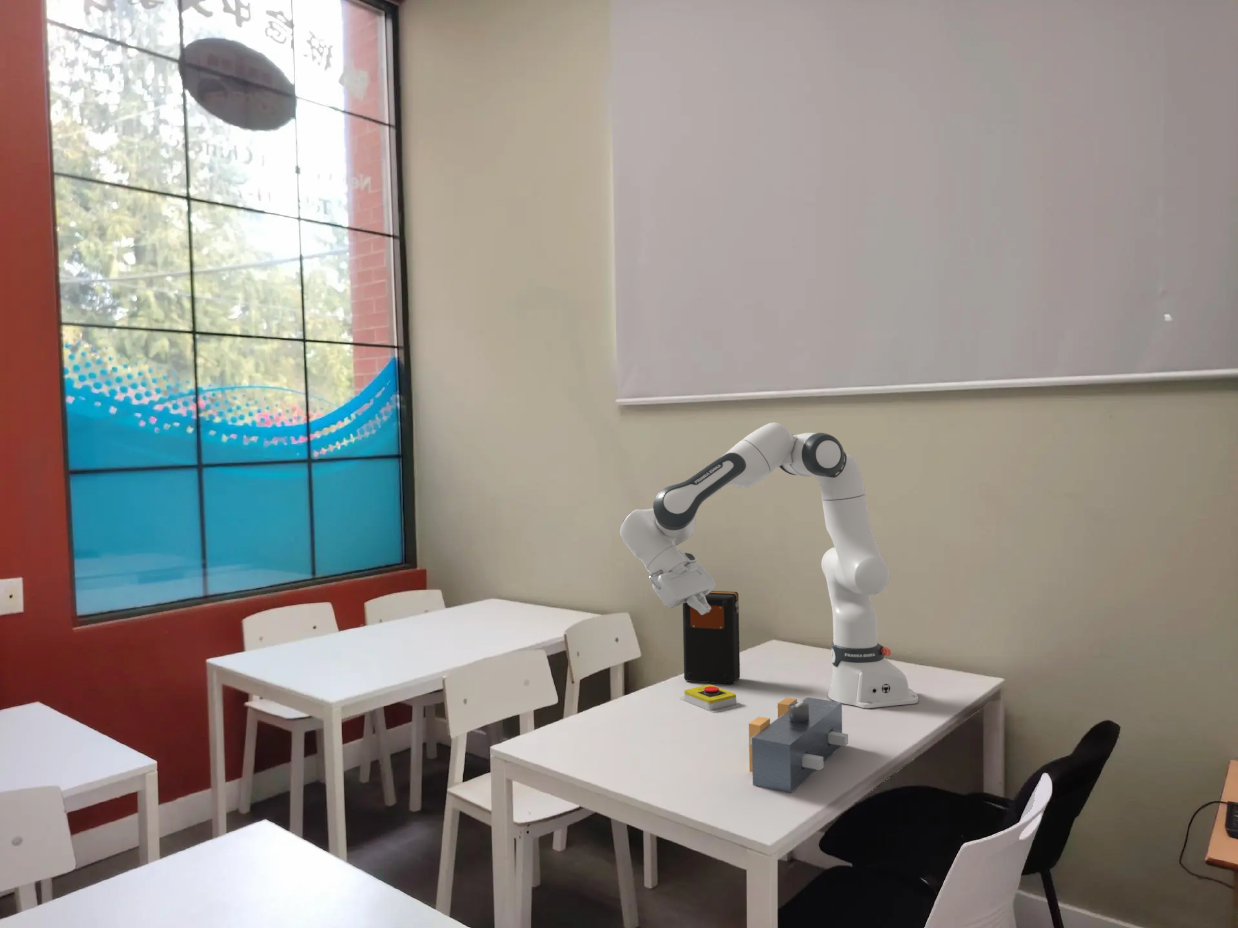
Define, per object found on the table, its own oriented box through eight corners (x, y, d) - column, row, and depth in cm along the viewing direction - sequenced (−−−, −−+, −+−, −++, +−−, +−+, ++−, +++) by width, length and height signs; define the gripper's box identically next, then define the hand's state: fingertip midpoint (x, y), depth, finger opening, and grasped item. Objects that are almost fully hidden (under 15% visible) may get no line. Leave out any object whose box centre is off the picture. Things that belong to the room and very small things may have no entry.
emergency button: (713, 697, 219) (677, 683, 231) (713, 714, 219) (677, 700, 231) (741, 690, 224) (704, 677, 236) (742, 707, 224) (705, 693, 236)
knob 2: (778, 748, 193) (777, 703, 192) (787, 741, 197) (786, 697, 196) (842, 760, 185) (842, 713, 184) (850, 752, 189) (849, 707, 189)
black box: (742, 677, 249) (740, 590, 248) (735, 686, 241) (734, 596, 240) (688, 673, 254) (686, 588, 253) (680, 682, 246) (679, 593, 245)
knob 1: (749, 771, 180) (748, 723, 180) (759, 763, 184) (758, 716, 184) (817, 785, 172) (816, 735, 172) (826, 776, 176) (825, 727, 176)
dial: (786, 720, 184) (786, 704, 184) (793, 714, 187) (793, 699, 187) (804, 723, 182) (804, 707, 181) (811, 717, 185) (811, 701, 185)
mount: (750, 784, 175) (750, 737, 174) (806, 737, 200) (805, 696, 199) (790, 793, 170) (789, 744, 170) (842, 744, 195) (841, 702, 195)
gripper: (654, 565, 198) (694, 612, 193) (696, 553, 215) (734, 595, 210) (638, 583, 201) (676, 630, 196) (681, 569, 218) (718, 612, 213)
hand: (707, 612), depth 203 cm, fingers closed
